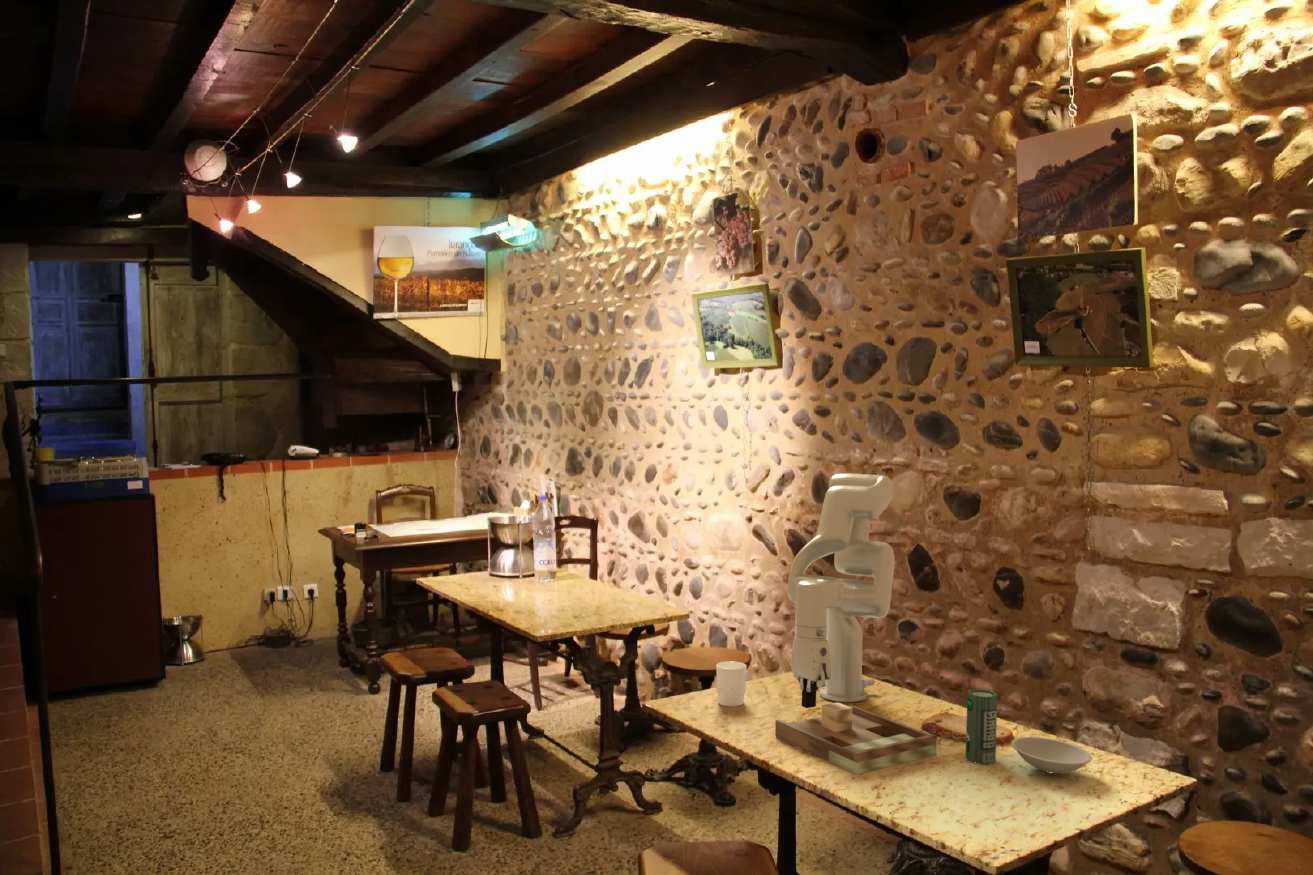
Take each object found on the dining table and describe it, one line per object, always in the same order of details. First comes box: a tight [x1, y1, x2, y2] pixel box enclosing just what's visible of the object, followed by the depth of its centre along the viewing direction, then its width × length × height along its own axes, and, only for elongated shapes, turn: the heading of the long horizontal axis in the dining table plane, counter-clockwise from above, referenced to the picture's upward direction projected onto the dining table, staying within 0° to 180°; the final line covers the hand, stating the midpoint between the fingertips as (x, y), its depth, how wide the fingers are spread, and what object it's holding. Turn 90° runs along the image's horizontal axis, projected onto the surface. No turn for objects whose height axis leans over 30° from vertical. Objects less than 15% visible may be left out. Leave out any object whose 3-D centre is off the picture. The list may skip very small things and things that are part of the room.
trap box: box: [774, 704, 938, 775], centre depth 242 cm, size 24×28×4 cm
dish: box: [1010, 736, 1093, 774], centre depth 227 cm, size 18×14×5 cm
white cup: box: [715, 660, 747, 707], centre depth 274 cm, size 8×8×10 cm
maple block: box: [821, 702, 852, 732], centre depth 247 cm, size 5×5×5 cm
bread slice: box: [920, 711, 1016, 745], centre depth 252 cm, size 18×18×4 cm
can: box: [965, 688, 998, 765], centre depth 234 cm, size 6×6×15 cm
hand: (808, 706), depth 255 cm, fingers closed
